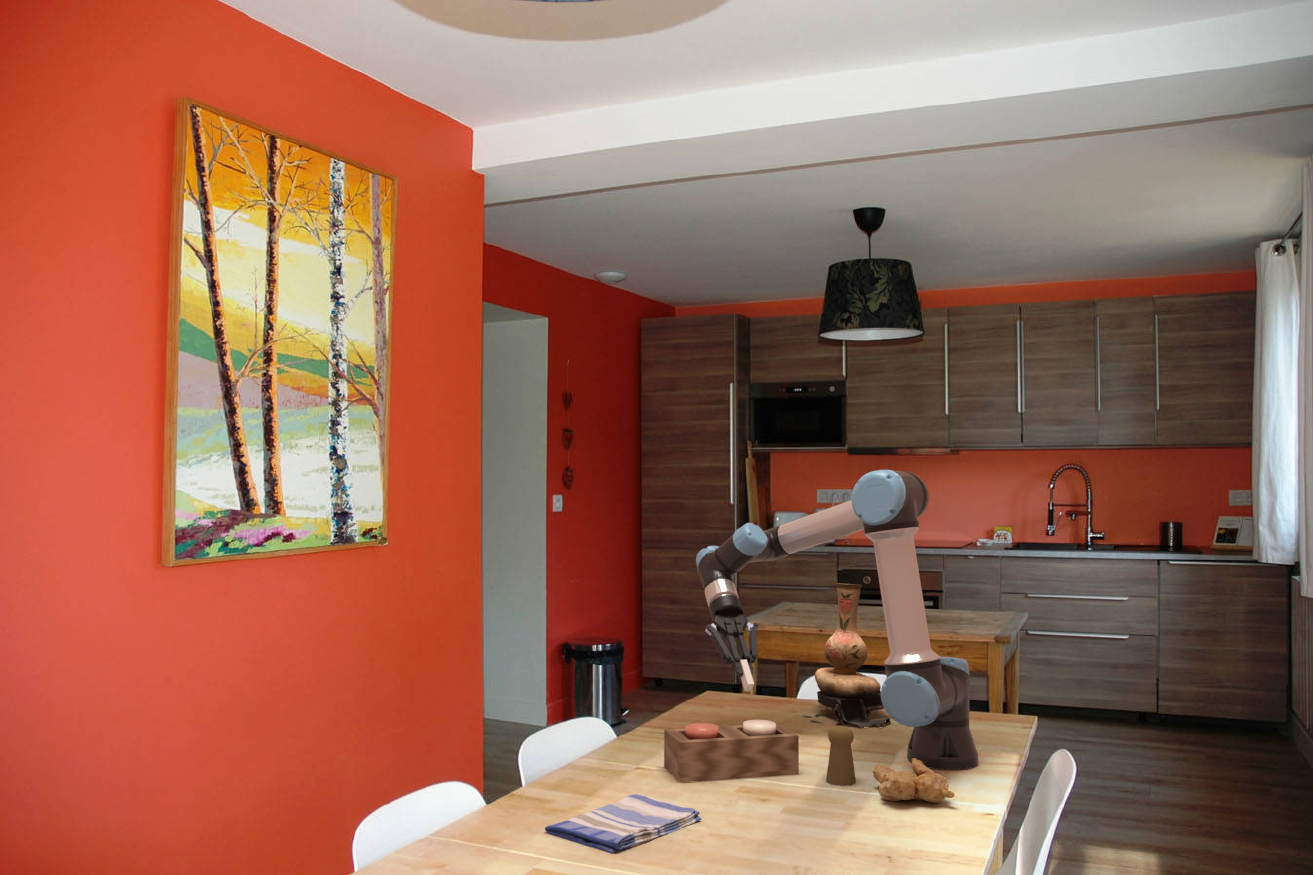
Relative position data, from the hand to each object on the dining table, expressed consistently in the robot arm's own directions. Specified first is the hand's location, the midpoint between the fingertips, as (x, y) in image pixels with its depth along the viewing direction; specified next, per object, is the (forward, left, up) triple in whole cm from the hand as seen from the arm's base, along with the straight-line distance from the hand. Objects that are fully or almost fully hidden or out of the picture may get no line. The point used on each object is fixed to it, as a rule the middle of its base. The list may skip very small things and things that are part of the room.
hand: (749, 687), depth 225 cm
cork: (-22, -4, -16) cm, 28 cm away
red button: (+1, +14, -14) cm, 19 cm away
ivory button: (-5, +2, -14) cm, 15 cm away
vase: (+16, -54, -17) cm, 58 cm away
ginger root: (-39, -5, -17) cm, 42 cm away
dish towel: (-16, +48, -17) cm, 53 cm away
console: (-2, +8, -16) cm, 18 cm away
